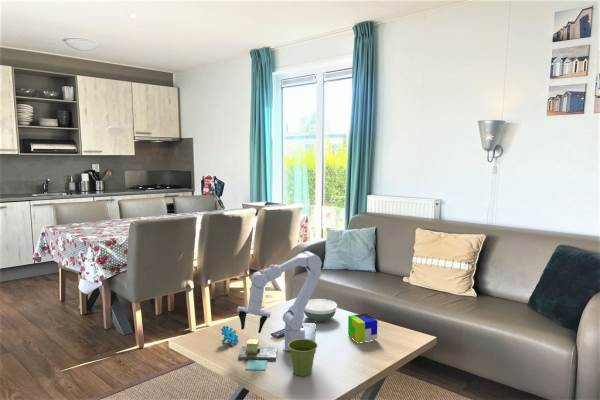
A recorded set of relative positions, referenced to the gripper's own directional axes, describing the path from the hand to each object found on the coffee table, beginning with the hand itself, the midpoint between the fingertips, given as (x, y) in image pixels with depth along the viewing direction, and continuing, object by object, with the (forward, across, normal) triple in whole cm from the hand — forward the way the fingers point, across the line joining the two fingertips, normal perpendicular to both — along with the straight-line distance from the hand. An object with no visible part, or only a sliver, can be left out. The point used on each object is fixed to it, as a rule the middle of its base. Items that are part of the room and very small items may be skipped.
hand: (251, 330), depth 181 cm
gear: (+12, -11, +11) cm, 20 cm away
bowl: (+4, +26, +46) cm, 53 cm away
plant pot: (+8, +26, -10) cm, 29 cm away
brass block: (+10, +2, 0) cm, 11 cm away
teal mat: (+10, +6, -9) cm, 15 cm away
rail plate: (+10, +5, +1) cm, 11 cm away
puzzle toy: (+2, +48, +26) cm, 55 cm away
